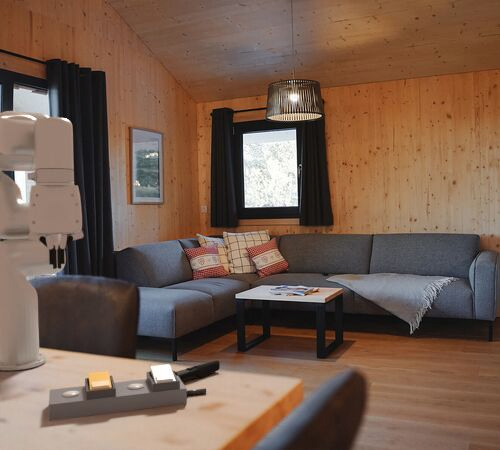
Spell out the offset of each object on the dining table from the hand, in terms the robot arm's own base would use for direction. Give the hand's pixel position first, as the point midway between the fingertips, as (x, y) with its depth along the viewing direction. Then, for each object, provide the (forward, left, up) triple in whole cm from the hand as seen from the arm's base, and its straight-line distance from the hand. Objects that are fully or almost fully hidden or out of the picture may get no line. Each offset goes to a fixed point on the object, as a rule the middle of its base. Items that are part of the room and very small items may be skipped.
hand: (57, 267), depth 116 cm
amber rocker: (+8, +8, -23) cm, 25 cm away
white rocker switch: (+8, +20, -23) cm, 31 cm away
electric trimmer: (-3, +28, -28) cm, 40 cm away
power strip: (+8, +14, -27) cm, 31 cm away
